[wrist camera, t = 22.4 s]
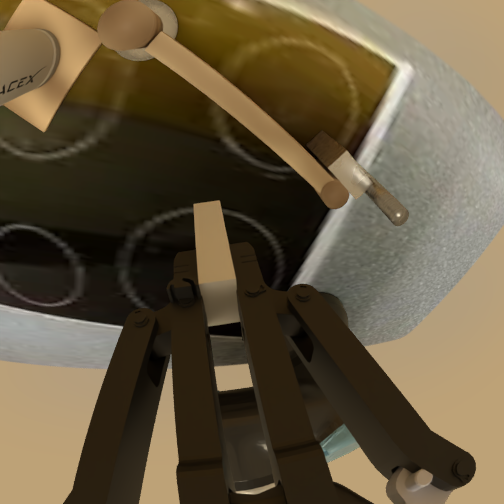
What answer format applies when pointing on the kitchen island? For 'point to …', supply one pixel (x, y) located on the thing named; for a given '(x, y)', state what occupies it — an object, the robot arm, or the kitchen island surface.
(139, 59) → the hinge base
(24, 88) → the travel mug
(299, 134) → the kitchen island surface
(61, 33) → the coaster
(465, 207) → the kitchen island surface
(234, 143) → the kitchen island surface
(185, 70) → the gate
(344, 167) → the post
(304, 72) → the kitchen island surface
